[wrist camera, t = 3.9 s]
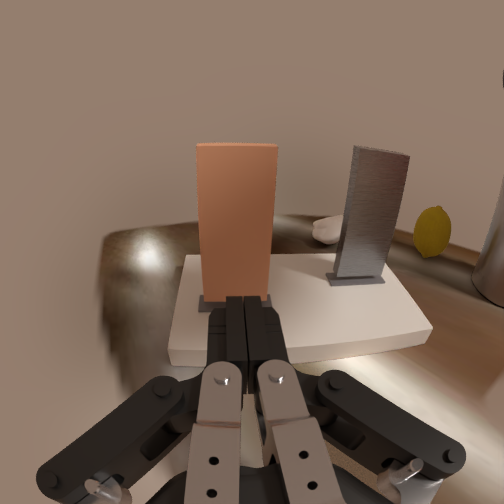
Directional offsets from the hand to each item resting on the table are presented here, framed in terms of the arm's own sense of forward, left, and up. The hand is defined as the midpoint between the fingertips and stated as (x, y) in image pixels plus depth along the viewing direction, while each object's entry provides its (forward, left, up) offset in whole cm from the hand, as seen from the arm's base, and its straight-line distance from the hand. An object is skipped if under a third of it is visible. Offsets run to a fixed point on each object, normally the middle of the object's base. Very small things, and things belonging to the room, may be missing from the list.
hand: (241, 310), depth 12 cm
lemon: (-27, -19, -9) cm, 34 cm away
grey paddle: (-12, -12, -7) cm, 18 cm away
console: (-6, -10, -9) cm, 15 cm away
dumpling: (-13, -24, -9) cm, 28 cm away
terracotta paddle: (0, -9, -7) cm, 11 cm away
